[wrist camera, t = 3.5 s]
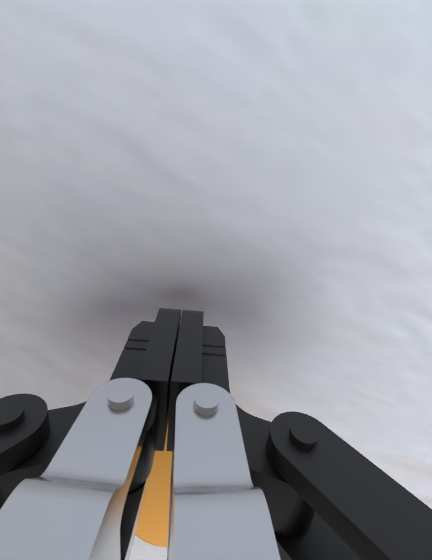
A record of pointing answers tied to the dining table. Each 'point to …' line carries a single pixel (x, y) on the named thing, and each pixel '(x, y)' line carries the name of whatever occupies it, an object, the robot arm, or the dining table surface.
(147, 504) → the ball
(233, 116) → the dining table surface
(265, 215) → the dining table surface
